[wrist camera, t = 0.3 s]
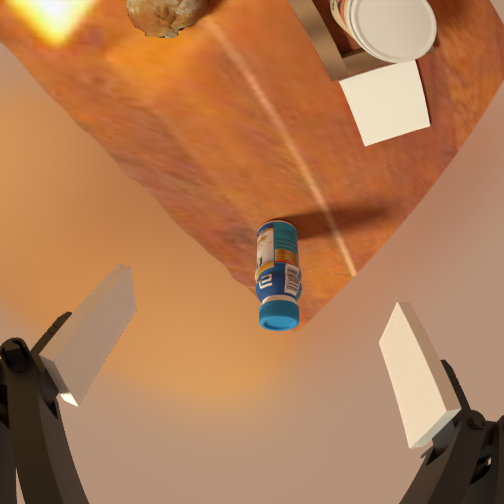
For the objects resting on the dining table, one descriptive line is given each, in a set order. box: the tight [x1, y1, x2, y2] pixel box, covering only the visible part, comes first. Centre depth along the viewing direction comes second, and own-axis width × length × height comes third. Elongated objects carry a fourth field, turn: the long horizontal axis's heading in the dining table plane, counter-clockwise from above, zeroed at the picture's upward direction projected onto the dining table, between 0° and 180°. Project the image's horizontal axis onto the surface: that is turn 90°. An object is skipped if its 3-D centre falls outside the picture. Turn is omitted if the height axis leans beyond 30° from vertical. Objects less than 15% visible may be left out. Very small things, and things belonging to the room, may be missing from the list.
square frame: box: [287, 0, 435, 81], centre depth 23 cm, size 16×16×2 cm
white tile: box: [339, 60, 430, 146], centre depth 34 cm, size 12×12×1 cm
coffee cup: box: [330, 0, 437, 63], centre depth 20 cm, size 9×9×12 cm
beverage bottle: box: [255, 220, 302, 331], centre depth 53 cm, size 8×8×20 cm
